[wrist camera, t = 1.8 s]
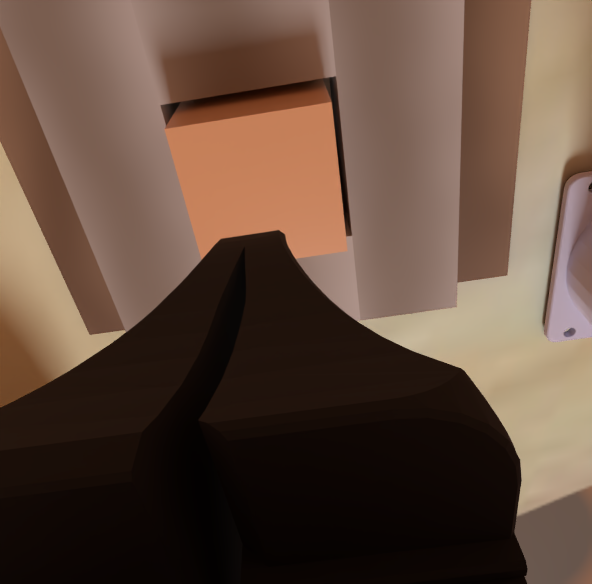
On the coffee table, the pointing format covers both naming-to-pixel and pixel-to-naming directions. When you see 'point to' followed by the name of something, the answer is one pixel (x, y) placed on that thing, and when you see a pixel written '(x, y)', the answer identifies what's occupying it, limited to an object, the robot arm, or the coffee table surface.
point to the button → (261, 167)
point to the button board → (255, 75)
